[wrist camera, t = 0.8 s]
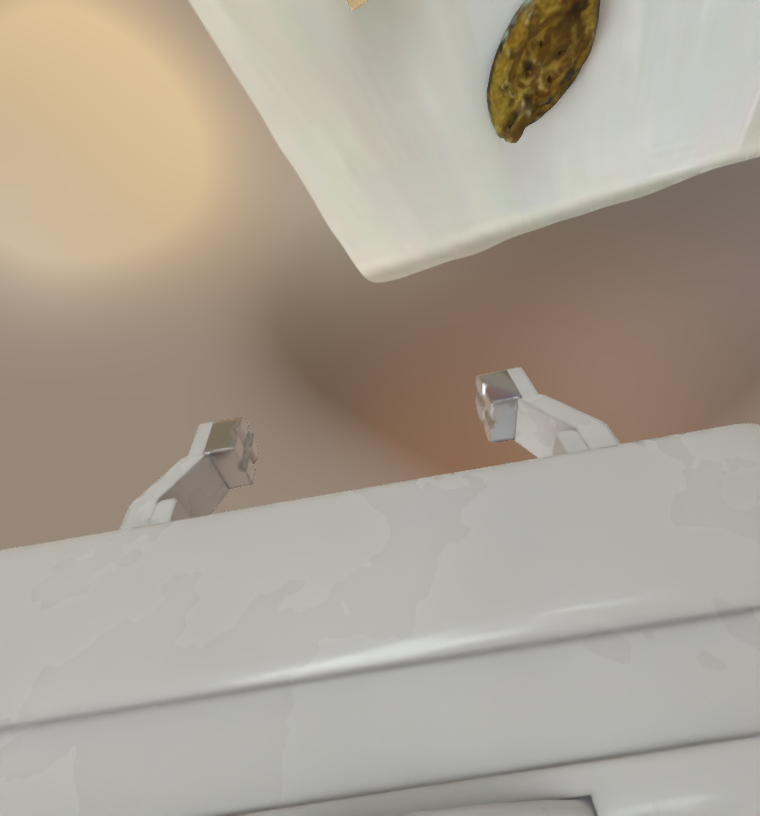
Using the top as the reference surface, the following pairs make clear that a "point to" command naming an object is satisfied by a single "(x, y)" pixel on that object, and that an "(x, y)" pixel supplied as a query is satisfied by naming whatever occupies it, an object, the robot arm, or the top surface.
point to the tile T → (355, 3)
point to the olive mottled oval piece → (538, 61)
